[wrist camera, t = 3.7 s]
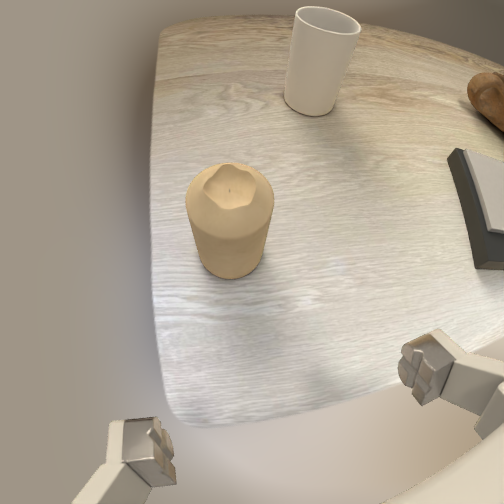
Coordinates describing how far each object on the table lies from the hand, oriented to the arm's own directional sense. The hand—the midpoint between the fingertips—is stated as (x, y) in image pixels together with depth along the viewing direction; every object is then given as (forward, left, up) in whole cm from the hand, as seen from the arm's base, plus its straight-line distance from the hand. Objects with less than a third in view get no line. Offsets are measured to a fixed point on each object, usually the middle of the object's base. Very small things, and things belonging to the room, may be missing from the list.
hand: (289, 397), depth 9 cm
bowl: (+39, -41, -16) cm, 59 cm away
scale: (+18, -31, -15) cm, 39 cm away
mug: (+33, -5, -16) cm, 37 cm away
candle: (+11, +3, -16) cm, 19 cm away
